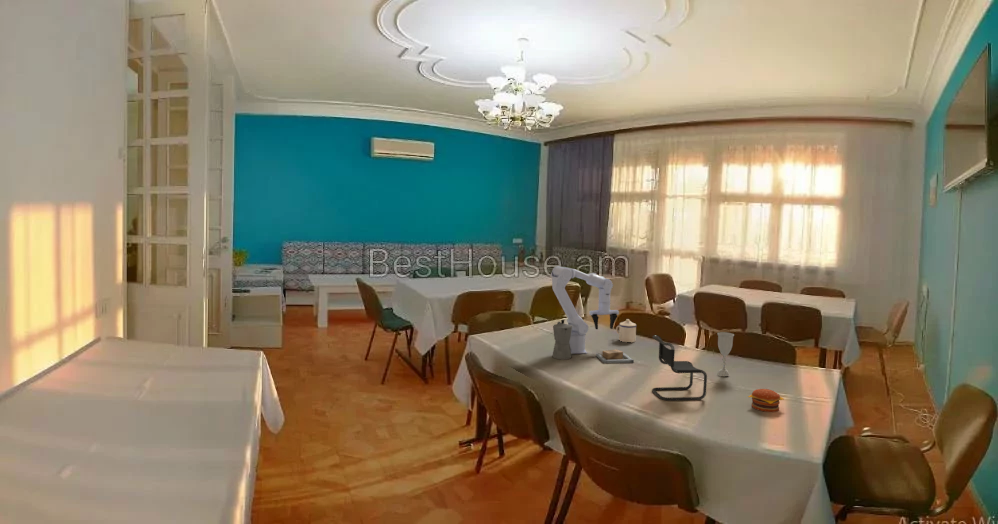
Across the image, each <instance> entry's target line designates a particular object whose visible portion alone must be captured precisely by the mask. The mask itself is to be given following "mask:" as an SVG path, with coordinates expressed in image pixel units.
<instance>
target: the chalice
mask: <svg viewBox="0 0 998 524" xmlns="http://www.w3.org/2000/svg"><path fill="white" fill-rule="evenodd" d="M717 336H718V337H717V346H718V349H719V352H720V354H721V355H722V356H723V358H722V363H721V365H722V367H721V368H720V369H719V370H718V373H717V374H718V375H720V376H719V377H721V376H729V375H730V373H729V371H728V369H727V368H726V366H727V364H726V361H727V359H726V357H727V356H729V354H730V352H731V351H732V348H733V345H734V344H733V342H734V336H735V334H734V333H731V332H727V331H725V332H724V331H721V332H717ZM718 375H717V376H718ZM729 377H730V376H729Z"/></svg>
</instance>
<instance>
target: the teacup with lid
mask: <svg viewBox="0 0 998 524" xmlns="http://www.w3.org/2000/svg"><path fill="white" fill-rule="evenodd" d="M615 330H616V333H617V335H618V340H620V342H621V341H622V342H621V343H627V342H631V343H635V342H636V339H637V338H636V336H637V335H636V334H637V324H636V323H634V322H632V321H631V320H630V319H629V318H626V320H625V321H621V322H619V324H618V325H617V326H616V327H615Z"/></svg>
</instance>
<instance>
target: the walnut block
mask: <svg viewBox="0 0 998 524" xmlns="http://www.w3.org/2000/svg"><path fill="white" fill-rule="evenodd" d="M623 353H624V351H622V350H619V349H617V348H616V349H608V350H602V354H601V355H602V356H603V357H604V358H605V359H606V360H618V359H624V357H623Z"/></svg>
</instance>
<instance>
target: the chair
mask: <svg viewBox="0 0 998 524" xmlns="http://www.w3.org/2000/svg"><path fill="white" fill-rule="evenodd" d="M652 339H653V340H655V341H657V342H658V344H659V345H658V360H659V362H660V363H661V364H663V365H667V366H668V367H669V368H670V369H671V371H672V372H674V373H677V374H689V384H688V386H676V387H675V386H674V387H673V386H672V387H671V386H670V387H654V388H652V389H651V391H652V393H653V394H654V395H655V396H656V397H658V398H659V399H660V400H663V401H670V402H671V401H672V402H673V401H700V400H704V398H705V397H706V395H707V386H708V385H707V383H708V376H707V375H708V374H707V372H706V371H705V370H703V369H699V368H697V367H695V366H694V364H693V363H692V362H691V361H690V360H689V361H688V360H675V353H676V352H675V346H674V345H673V344H672V343H671V342H665V341H664V340H663V339H662V338H661V336H659V335H652ZM668 347H670V348H671V349H670V348H668ZM694 374H703V390H702V394H701V395H700V396H687V397H686V396H685V397H684V396H683V397H682V396H680V397H666V396H662V395H661V394H659V393H658V392H657V391H687V390H690V389H691V388H692V386H693V380H694Z"/></svg>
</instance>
